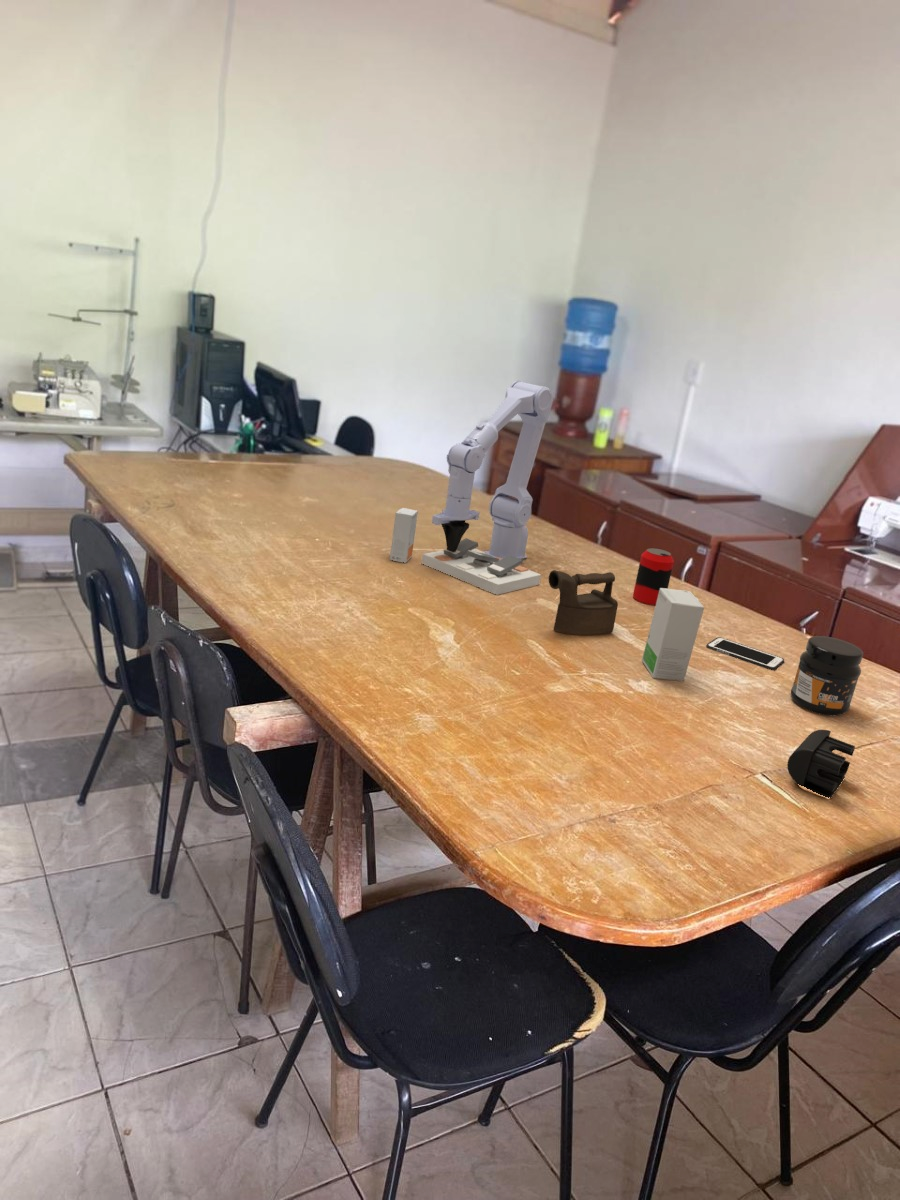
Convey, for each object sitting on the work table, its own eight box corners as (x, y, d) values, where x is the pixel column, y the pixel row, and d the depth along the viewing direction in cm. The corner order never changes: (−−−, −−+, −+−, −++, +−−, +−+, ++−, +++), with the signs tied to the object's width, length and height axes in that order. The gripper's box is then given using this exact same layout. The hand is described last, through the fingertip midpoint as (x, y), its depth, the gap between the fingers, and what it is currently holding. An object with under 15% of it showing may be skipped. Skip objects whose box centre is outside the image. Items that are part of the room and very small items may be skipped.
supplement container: (788, 707, 163) (805, 647, 159) (789, 687, 173) (805, 629, 169) (849, 723, 160) (868, 662, 156) (847, 701, 170) (865, 644, 166)
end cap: (800, 760, 144) (811, 723, 142) (845, 778, 140) (857, 740, 138) (781, 782, 136) (792, 743, 134) (828, 801, 132) (841, 762, 130)
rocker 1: (466, 541, 221) (466, 537, 220) (478, 546, 219) (478, 542, 218) (443, 553, 216) (443, 549, 216) (455, 558, 214) (455, 554, 213)
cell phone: (773, 672, 180) (774, 668, 180) (704, 648, 188) (705, 644, 187) (784, 663, 186) (785, 658, 186) (717, 640, 194) (718, 636, 193)
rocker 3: (509, 558, 213) (509, 554, 212) (522, 563, 210) (522, 559, 210) (487, 570, 208) (487, 566, 207) (500, 576, 205) (500, 571, 205)
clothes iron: (532, 624, 186) (542, 564, 182) (591, 619, 195) (603, 561, 190) (554, 639, 180) (565, 576, 176) (615, 633, 188) (627, 573, 184)
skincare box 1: (406, 563, 214) (412, 515, 210) (389, 560, 215) (394, 512, 211) (412, 557, 220) (418, 510, 216) (396, 554, 221) (401, 507, 217)
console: (465, 555, 227) (467, 542, 226) (539, 584, 213) (541, 571, 212) (421, 563, 216) (423, 550, 215) (496, 595, 201) (498, 580, 200)
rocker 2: (485, 558, 217) (487, 553, 217) (498, 562, 215) (499, 558, 215) (465, 554, 211) (466, 549, 211) (478, 559, 209) (479, 554, 208)
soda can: (646, 606, 208) (656, 557, 204) (626, 595, 214) (636, 547, 210) (670, 605, 211) (681, 556, 208) (650, 593, 218) (661, 546, 214)
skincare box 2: (641, 661, 175) (657, 586, 170) (673, 664, 176) (690, 590, 171) (653, 679, 167) (671, 601, 162) (687, 682, 168) (705, 605, 163)
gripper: (467, 489, 218) (459, 542, 222) (425, 493, 207) (418, 549, 212) (488, 496, 214) (480, 550, 218) (447, 501, 203) (439, 557, 208)
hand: (451, 550), depth 215 cm, fingers closed
